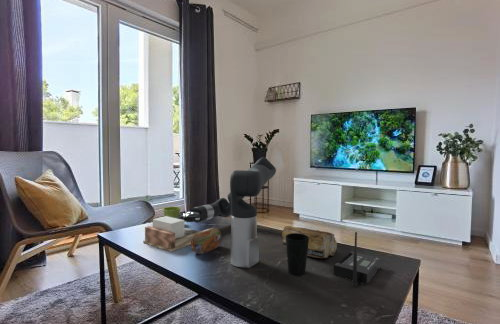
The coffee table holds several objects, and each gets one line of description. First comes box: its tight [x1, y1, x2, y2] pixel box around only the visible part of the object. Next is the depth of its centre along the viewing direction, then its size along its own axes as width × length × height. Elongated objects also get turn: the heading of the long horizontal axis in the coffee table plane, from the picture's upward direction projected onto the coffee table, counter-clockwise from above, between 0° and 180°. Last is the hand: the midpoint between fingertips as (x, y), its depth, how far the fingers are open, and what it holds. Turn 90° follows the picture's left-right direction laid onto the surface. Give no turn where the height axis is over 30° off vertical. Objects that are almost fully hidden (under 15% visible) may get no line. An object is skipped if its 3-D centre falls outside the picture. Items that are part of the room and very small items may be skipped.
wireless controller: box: [333, 231, 382, 288], centre depth 93 cm, size 20×14×17 cm
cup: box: [285, 233, 309, 277], centre depth 93 cm, size 8×8×12 cm
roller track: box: [142, 225, 204, 253], centre depth 124 cm, size 18×21×7 cm
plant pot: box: [162, 206, 181, 218], centre depth 149 cm, size 9×9×9 cm
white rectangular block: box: [152, 215, 185, 239], centre depth 120 cm, size 12×7×7 cm, turn 56°
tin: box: [190, 227, 223, 255], centre depth 112 cm, size 15×3×8 cm, turn 143°
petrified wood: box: [281, 225, 338, 259], centre depth 112 cm, size 19×13×10 cm
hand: (175, 220), depth 123 cm, fingers closed
